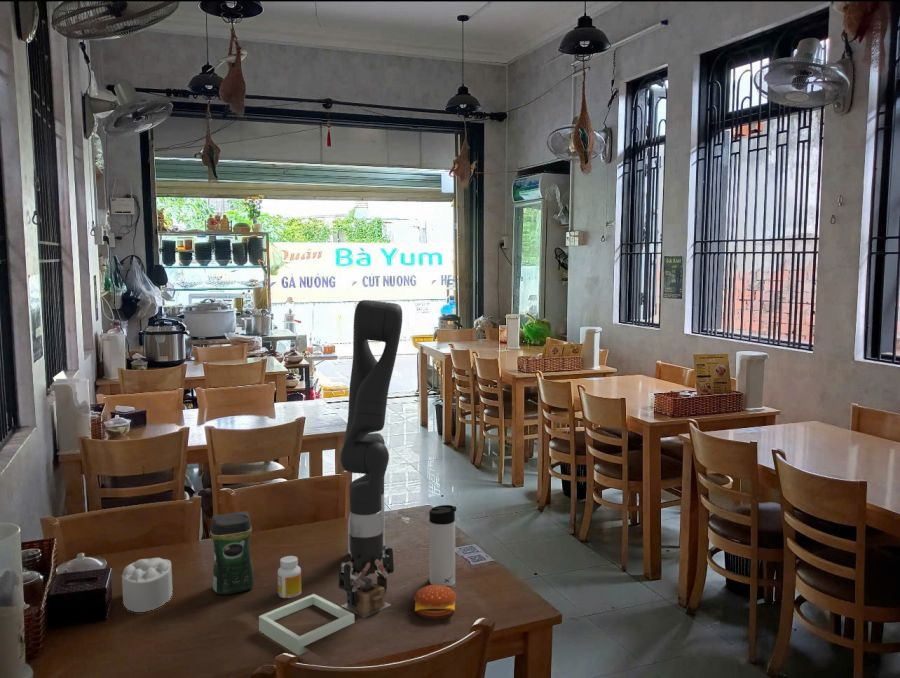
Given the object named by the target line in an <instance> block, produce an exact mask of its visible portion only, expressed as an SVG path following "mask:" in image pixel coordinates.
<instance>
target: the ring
mask: <svg viewBox="0 0 900 678" xmlns="http://www.w3.org/2000/svg"><path fill="white" fill-rule="evenodd" d="M356 591H357V607H355V608H353V607H351V606H349V604H348V603H347V602H346V603H347V606H349V607H351V608H353V609H355V610H357V611H359V612H361V613H363V614H366V613H368V612H371V611H373V610H375V609H377V608H379V607H381V606H384V605H385V602H386V598H385V597H386V596H385V595H386V593H385V588H384V587H382V586H379V585H377V583H375V582H373V581H372V590H370V591H368V592H366V593H364V592H362V591H360V588H359V585H358V587H357V589H356Z"/></svg>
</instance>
